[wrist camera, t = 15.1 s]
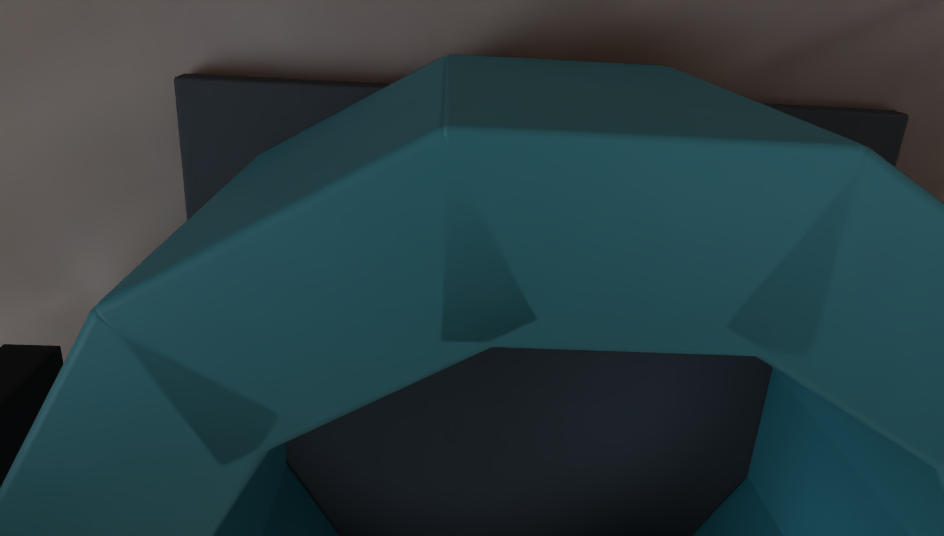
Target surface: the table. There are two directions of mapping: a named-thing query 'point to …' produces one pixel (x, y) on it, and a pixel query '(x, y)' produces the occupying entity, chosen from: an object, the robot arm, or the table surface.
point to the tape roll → (511, 299)
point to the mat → (509, 384)
